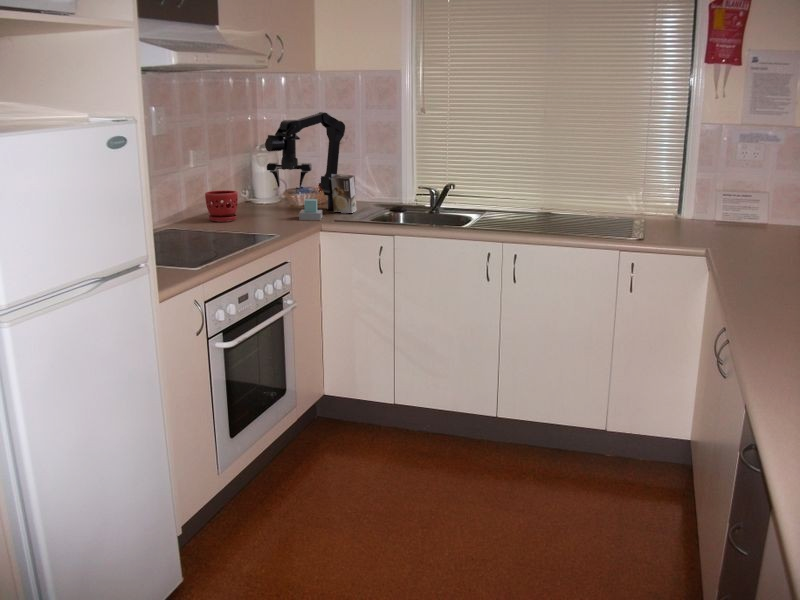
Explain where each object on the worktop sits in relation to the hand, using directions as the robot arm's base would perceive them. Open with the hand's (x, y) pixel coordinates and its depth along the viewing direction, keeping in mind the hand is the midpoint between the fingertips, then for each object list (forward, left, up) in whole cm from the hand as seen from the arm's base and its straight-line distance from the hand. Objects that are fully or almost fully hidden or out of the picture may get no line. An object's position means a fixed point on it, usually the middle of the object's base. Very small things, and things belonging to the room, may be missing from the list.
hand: (289, 187), depth 347 cm
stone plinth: (+9, +10, -12) cm, 18 cm away
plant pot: (+17, -26, -12) cm, 33 cm away
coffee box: (-8, +24, -12) cm, 28 cm away
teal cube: (+9, +10, -9) cm, 16 cm away
